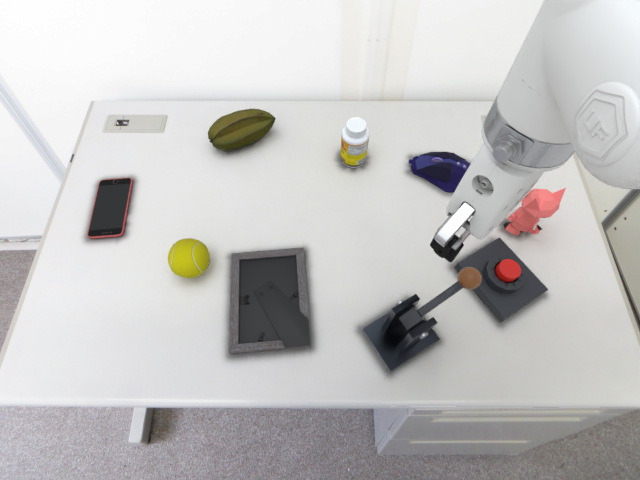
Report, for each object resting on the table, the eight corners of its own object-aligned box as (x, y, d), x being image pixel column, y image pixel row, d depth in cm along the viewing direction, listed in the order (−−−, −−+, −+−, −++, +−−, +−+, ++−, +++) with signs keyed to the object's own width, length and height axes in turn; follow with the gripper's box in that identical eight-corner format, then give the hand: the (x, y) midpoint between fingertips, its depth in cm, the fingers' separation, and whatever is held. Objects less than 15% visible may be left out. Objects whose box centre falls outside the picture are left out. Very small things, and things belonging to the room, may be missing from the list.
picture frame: (310, 347, 63) (303, 251, 71) (310, 344, 61) (303, 246, 69) (231, 354, 62) (233, 257, 71) (228, 352, 61) (231, 252, 69)
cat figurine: (523, 208, 75) (556, 171, 64) (544, 237, 72) (582, 202, 61) (492, 219, 74) (520, 182, 63) (512, 248, 71) (545, 215, 60)
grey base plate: (542, 293, 67) (554, 285, 63) (499, 322, 64) (510, 315, 61) (494, 242, 72) (503, 232, 68) (454, 267, 69) (460, 258, 66)
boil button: (521, 275, 64) (525, 272, 63) (505, 286, 64) (509, 282, 62) (506, 259, 66) (510, 255, 64) (490, 269, 65) (494, 265, 64)
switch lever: (471, 264, 55) (471, 260, 52) (486, 282, 54) (487, 279, 51) (399, 315, 57) (395, 314, 54) (412, 333, 56) (408, 333, 53)
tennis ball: (172, 283, 69) (157, 268, 62) (179, 249, 72) (166, 231, 66) (211, 283, 68) (199, 268, 62) (216, 249, 72) (206, 231, 65)
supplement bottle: (342, 147, 83) (344, 111, 74) (367, 151, 82) (372, 115, 73) (338, 167, 80) (339, 132, 71) (363, 171, 80) (368, 137, 71)
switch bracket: (409, 301, 66) (425, 276, 56) (438, 340, 63) (460, 321, 53) (362, 330, 64) (369, 309, 54) (389, 372, 61) (402, 359, 50)
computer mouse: (476, 198, 76) (484, 186, 73) (403, 183, 78) (407, 171, 75) (479, 163, 80) (487, 150, 77) (410, 149, 82) (414, 137, 79)
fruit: (232, 116, 88) (225, 93, 82) (279, 130, 86) (275, 107, 80) (208, 152, 83) (199, 130, 77) (257, 167, 81) (251, 146, 75)
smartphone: (132, 176, 79) (122, 235, 73) (134, 178, 80) (123, 236, 73) (99, 179, 79) (85, 238, 72) (100, 181, 79) (87, 239, 73)
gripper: (513, 214, 27) (446, 295, 42) (627, 97, 32) (531, 206, 48) (431, 156, 30) (396, 252, 45) (549, 56, 35) (482, 172, 50)
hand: (466, 228), depth 46 cm, fingers open, 9 cm apart
